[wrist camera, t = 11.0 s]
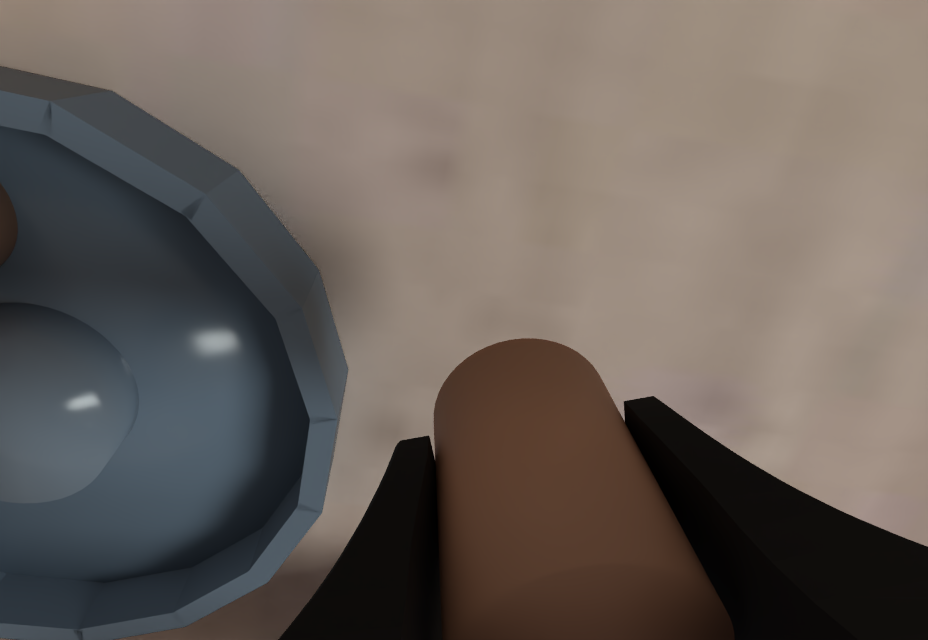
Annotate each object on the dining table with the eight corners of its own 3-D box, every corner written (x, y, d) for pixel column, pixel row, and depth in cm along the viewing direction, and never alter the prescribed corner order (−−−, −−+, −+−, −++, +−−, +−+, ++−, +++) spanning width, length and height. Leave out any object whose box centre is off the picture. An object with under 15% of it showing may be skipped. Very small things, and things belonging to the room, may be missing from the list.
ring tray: (395, 528, 24) (391, 590, 21) (-61, 608, 24) (-122, 680, 21) (241, 4, 15) (203, -3, 13) (-455, 134, 16) (-637, 154, 13)
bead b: (611, 468, 14) (730, 730, 9) (450, 496, 14) (469, 774, 9) (601, 323, 12) (741, 538, 7) (417, 356, 13) (417, 594, 7)
